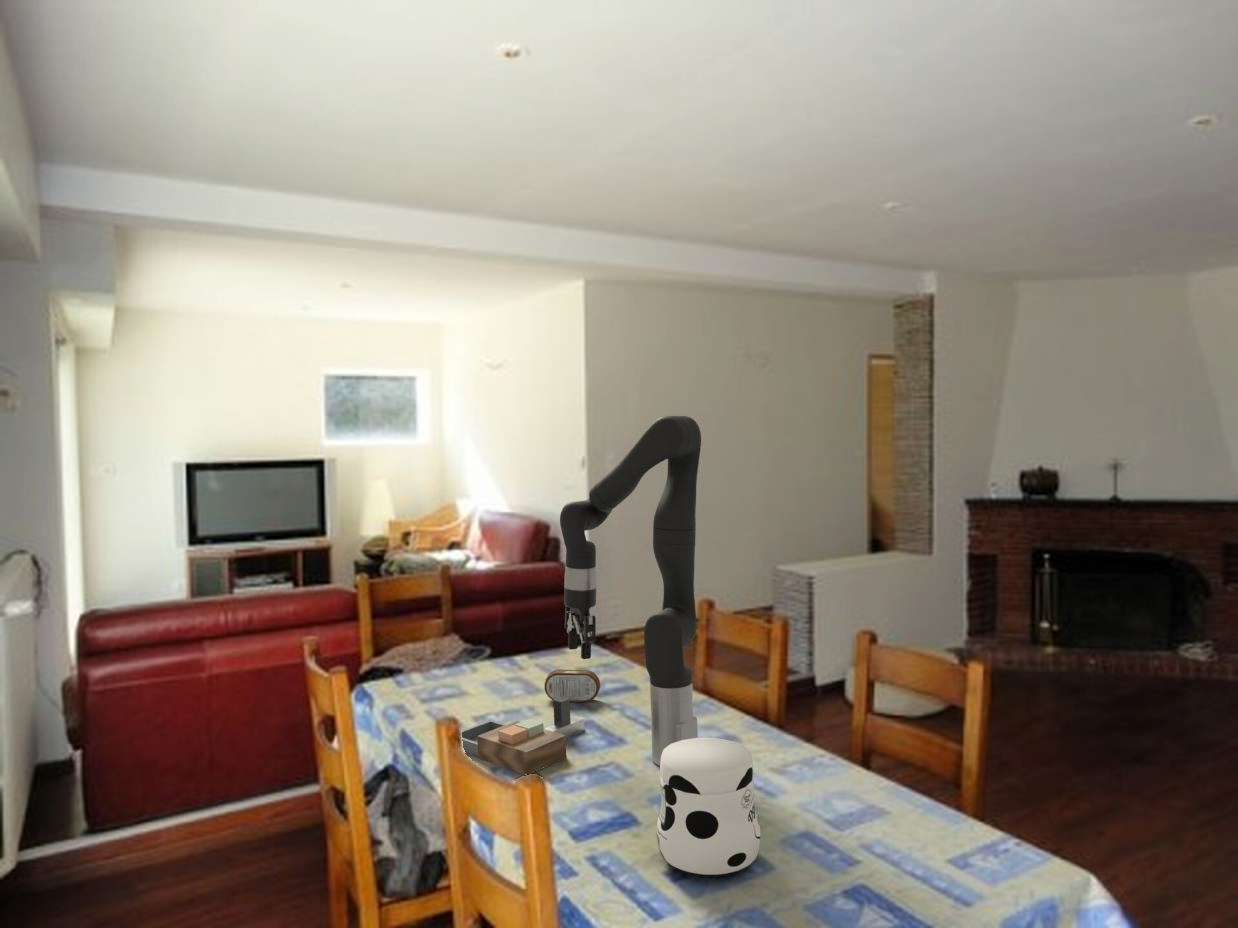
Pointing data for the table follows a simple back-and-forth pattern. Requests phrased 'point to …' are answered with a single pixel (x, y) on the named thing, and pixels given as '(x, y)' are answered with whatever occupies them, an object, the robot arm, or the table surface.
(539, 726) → the sage tile
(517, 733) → the peach flat block
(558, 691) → the tin
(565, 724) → the scraper
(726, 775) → the milk container
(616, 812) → the table surface
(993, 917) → the table surface
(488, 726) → the tray
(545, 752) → the walnut block
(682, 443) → the robot arm
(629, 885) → the table surface
